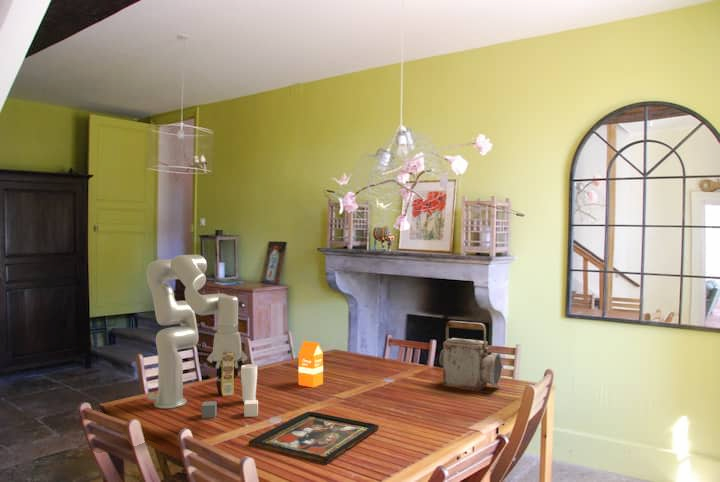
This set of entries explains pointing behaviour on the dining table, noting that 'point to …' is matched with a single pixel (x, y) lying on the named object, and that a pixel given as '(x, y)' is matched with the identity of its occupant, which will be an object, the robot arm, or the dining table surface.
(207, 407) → the dark grey block
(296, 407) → the dining table surface
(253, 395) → the drinking glass
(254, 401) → the off-white block
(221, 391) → the mate gourd
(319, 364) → the orange juice
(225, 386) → the candy box
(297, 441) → the framed painting
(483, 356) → the lantern
